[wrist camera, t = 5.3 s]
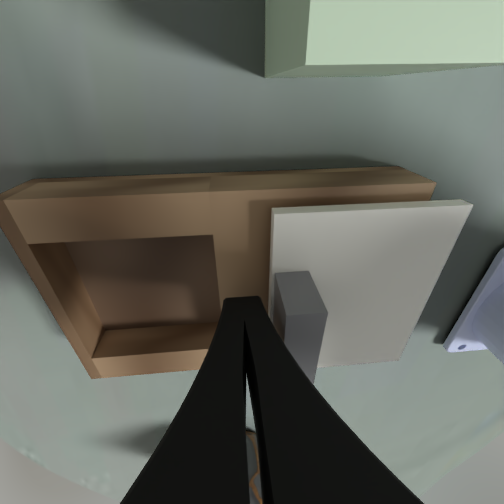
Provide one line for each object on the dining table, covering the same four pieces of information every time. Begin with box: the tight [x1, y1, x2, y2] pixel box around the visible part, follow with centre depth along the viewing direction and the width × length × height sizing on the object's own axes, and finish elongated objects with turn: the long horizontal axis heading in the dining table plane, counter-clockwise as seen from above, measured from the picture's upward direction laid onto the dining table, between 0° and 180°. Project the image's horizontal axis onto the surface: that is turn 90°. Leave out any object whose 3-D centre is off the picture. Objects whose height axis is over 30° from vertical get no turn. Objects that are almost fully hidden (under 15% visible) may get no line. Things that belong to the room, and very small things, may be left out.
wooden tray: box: [0, 166, 436, 379], centre depth 11 cm, size 14×9×2 cm, turn 90°
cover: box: [268, 199, 473, 384], centre depth 9 cm, size 6×8×2 cm
